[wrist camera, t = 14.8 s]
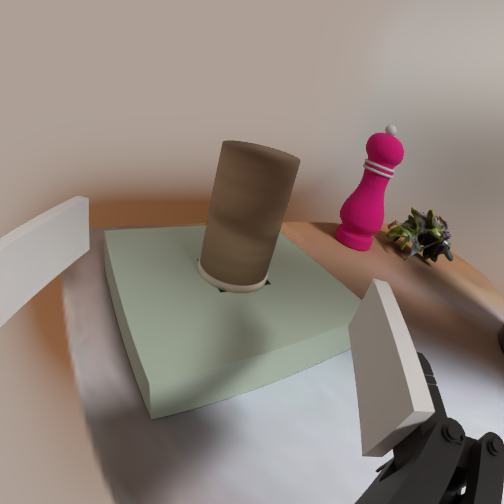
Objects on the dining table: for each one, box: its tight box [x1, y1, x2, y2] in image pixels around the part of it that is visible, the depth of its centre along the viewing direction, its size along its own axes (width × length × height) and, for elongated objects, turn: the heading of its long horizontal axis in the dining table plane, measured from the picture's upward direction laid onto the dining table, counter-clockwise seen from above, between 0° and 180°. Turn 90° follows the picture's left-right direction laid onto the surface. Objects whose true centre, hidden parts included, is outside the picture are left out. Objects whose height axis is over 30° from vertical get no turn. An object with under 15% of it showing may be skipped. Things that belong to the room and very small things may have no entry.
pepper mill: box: [335, 125, 404, 251], centre depth 42 cm, size 7×7×20 cm
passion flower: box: [387, 207, 453, 262], centre depth 46 cm, size 11×11×12 cm
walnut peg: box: [198, 141, 300, 293], centre depth 21 cm, size 5×5×13 cm
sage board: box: [104, 225, 362, 419], centre depth 24 cm, size 18×16×4 cm
